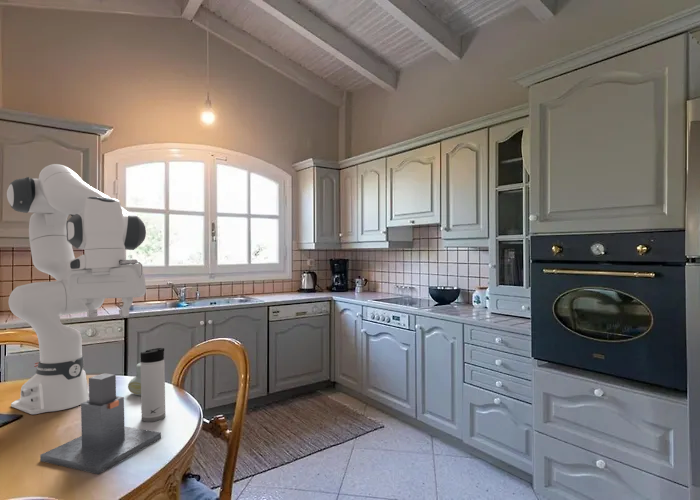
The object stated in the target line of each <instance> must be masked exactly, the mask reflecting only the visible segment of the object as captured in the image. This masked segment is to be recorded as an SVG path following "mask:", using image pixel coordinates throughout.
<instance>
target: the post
mask: <svg viewBox="0 0 700 500" xmlns="http://www.w3.org/2000/svg"><path fill="white" fill-rule="evenodd" d="M116 376H117V375H116V374H112V373H104V372H103V373H101V374H98V375H97V374H96V375H94V376H91V377H88V391H89V403H93V404H100V405H102V404H104V403H107V402H109V401H112V400H114V399H116V396H117V380H116Z"/></svg>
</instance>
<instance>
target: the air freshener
mask: <svg viewBox="0 0 700 500" xmlns="http://www.w3.org/2000/svg"><path fill="white" fill-rule="evenodd" d="M140 364H141V363H140V362H138V363H137V364H136V365H135V372H136V373H135V375H136V376H135V377H133V378H131V380H129V383H128V384H127V389H128V390H129V392H130V393H131V394H133V395H136V396H138V397H141V367H140Z"/></svg>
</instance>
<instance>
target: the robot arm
mask: <svg viewBox="0 0 700 500" xmlns="http://www.w3.org/2000/svg"><path fill="white" fill-rule="evenodd" d="M6 198H7V202H8V203H9V206H10V208H11V209H12V210H13V211H16V212H19V213H23V214H27V213H32V214H31V215H30V217H29V223H28V224H29V225H28V239H29V247H30V254H31V259H32V264H33V266H34V268H36V269H37V271H39V272H42V273H44V274H47V275H49V276H51V277H52V278H53V279H55V280H53V281H37V282H36V281H35V282H30V283H27V284H22V285H18V286H16V287H15V288H14V289H13V290H12V291H11V293H10V295H9V296H8V308H9V310H10V311H11V313H12V314H13V315H14V316H15V317H17V318H18V319H21V320H22V321H25V323H27V324H28V325H29V326H31V328H32V329H33V330H34V332H35V334H36V336H37V339H38V348H39V361H38V362H35V363H34V367H35V368H36V370H35V374H34V375H33V376H31V378H29V379H28V380H27V381H26V382H24V384H22V385H21V388H20V398H18V399H16V400H14V401H13V402H11V404H10V407H12V408H15V409H17V410H19V411H21V412H25V413H26V414H30V415H37V414H43V413H49V412H58V411H62V410H68V409H71V408H75V407H77V406H79V405H80V406H81V403H83V402H86V401H88V400H89V385H88V381H87V374H86V373H87V372H86V371H85V370H84V367H85V360H84V356H83V348H82V346H83V343H82V342H83V341H82V334H81V332H80V330H78V329H77V328H75V327H72V326H70V325H66V324H63V323H62V322H61V316H68V315H74V314H75V315H76V314H82V313H83V314H85V313H86V316H87V318H95V317H98V309H99V308H101V306H102V305H103V304H104V302H105V300H106V299H121V302H122V303H123V305H122V306H121V308H120V309H118V312H119V313H118V314H119V315H118V316H119V317H128V316H130V309H131V307H132V304H133V303H134V298H140V297H144V296H145V295H146V292H147V286H146V279H145V274H144V267H143V264H142V263H141V262H140V261H138V260H137V259H126V257H127V256H126V251H128V250H129V251H134V250H136V249H137V248H138V247H140V246H141V245H142V244H143V243H144V241H145V239H146V237H147V229H146V225H145V223H144V221H143V220H142V218H140V217H139V216H138V215H137V214H136V213H132V212H129V211H127V210H126V209H125V208H124V207H123V206H122V205H121V201H120V200H119V199H117V198H115V197H110V196H109V195H107V194H105V193H103V192H101V191H99V190H98V189H96V188H94V187H93V186H90V184H88V183H87V182H85V181H84V180H83V178H81V176H79V174H77V173H76V172H75V171H74V170H72V169H71V168H69V167H68V166H67V165H63V164H59V163H52V164H49V165H46V166H44V167H43V168H42V169H41V171H40V172H39V175H38V178H30V177H29V176H26V177H23V178H18V179H17V178H16V179H14V180H13V181H11V182H10V183H9V186H8V188H7V190H6ZM69 216H70V218H69V219H68V217H69ZM73 247H74V248H76V249H79V250H84V254H82V255H79V256H78V257H75V253H74V250H73Z"/></svg>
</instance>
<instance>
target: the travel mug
mask: <svg viewBox="0 0 700 500" xmlns="http://www.w3.org/2000/svg"><path fill="white" fill-rule="evenodd" d="M139 355H140V362H139V363H141V364H140V367H141V396H140V406H141V408H140V410H141V412H140V413H141V421H143V422H145V423H146V422H147V423H153V422H156V421H160V420H162V419H163V418H165V417H166V386H165V385H166V381H165V380H166V377H165V375H166V374H165V371H166V369H165V348H164V347H158V348H152V349H147V350H145V351H143V352H140V354H139Z"/></svg>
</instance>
